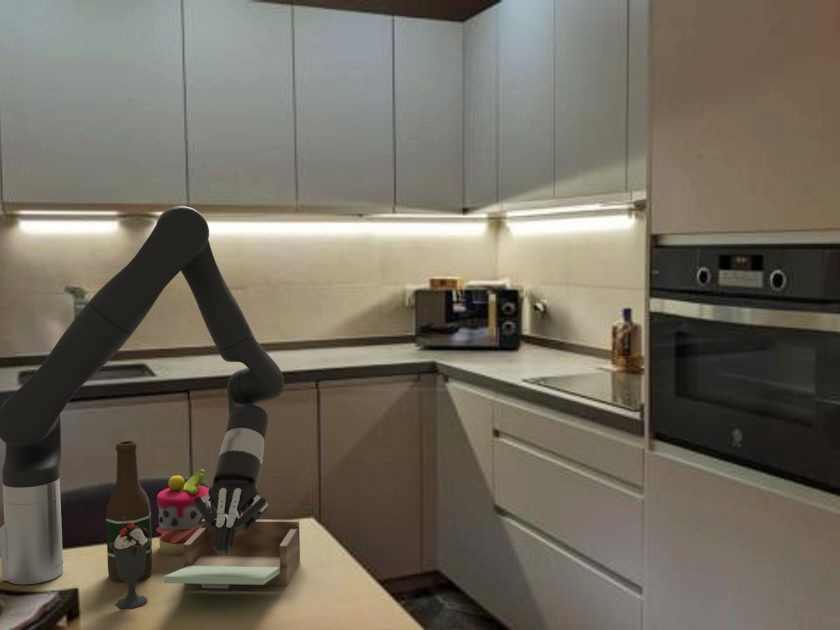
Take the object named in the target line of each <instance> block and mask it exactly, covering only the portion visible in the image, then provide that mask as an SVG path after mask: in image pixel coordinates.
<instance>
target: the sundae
mask: <svg viewBox="0 0 840 630" xmlns="http://www.w3.org/2000/svg"><path fill="white" fill-rule="evenodd" d="M122 520H123V527H122V530H120V535H119V536H118V537H117V538H116V540H115V541H114V542H112V543H110V544H109V547H110V548H111V549H112V550H113V551H114V556H115V561H116V567H117V571H118V575H119V577H120V578H121V579H122V580H123V581H125V582H124V583H126V584H127V594H126V595H125V597H122V598H120V599H119V600H117V602H116V603H115V605H116V607H118V608H120V609H124V610H125V609H129V610H130V609H136V608H139V607H142V606H144V605H146V604H147V603H148V601H149V599H148V598H147V597H145V596H143V595H138V594H137V592H136V591H137V590H136V583H137V582H138V581H137V580H138V579H140V577H141V576H142V575H143V573H144V568H145V560H146V551H147V547H148V546H149V545H150V543H151V539H150V538H146V537H147V535H148V531H147V530H146V529H145V528H144V527H143V526H142V525H139V527H138V526H135V525H134V524H133V523H129V522H127V521H126V522H127V523H128V524H129V525H128V526H127V527H125V528H124V520H126V517H124V518H122Z"/></svg>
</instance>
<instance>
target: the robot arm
mask: <svg viewBox="0 0 840 630" xmlns="http://www.w3.org/2000/svg"><path fill="white" fill-rule="evenodd" d="M209 237H210V228H209V224H208V222H207V220H206V219H205V217H204V215H203V214H201V213H200V212H199V211H198V210H196V209H194V208H192V207H191V206H185V205H176V206H172V207H169V208H167V209H165V210H164V211H163V212H162V213H161V214H160V216H159V217H158V218H157V221H156V223H155V226H154V228H153V230H151V233H150V234H149V235H148V237H147V239H146V240H145V242H144V243H143V244H142V245H141V247H140V248H139V250H138V251H137V253H136V254H135V256H134V257H133V258H132V259H131V260H130V261H129V262H128V264H126V266H124V267H123V268H122V269H121V270H120V271H119V272H117V273H116V275H114V276H113V277H112V278H110V280H109V281H107V283H105V284H104V285H103V286H102V287H101V288H100V289H99V290H98V291H97V292H96V293H95V294H94V295H93V296H92V298H90V300H88V302H87V304H85V306H84V307H83V308H82V310H80V311H79V313H78V314H77V315H76V317H75V318H74V319H73V320H72V321H71V323H70V324H69V326H68V327H67V328H66V329H65V331H64V333H62V335H61V337H60V338H59V340H57V342H56V344H55V346H54V347H53V348H52V350H51V351H50V353H49V355H48V356H47V358H46V359H45V360H44V361H43V362H42V364H41V365H40V366H39V368H38V369H36V371H35V372H34V373H33V374H32V375H31V376H30V377H29V378H28V379H27V380H26V381H25V382H24V383H23V384H22V386H20V387H19V388H18V389H17V390H16V391H15V392H14V393H13V394H12V395H11V396H9V397H8V398H7V399H6V400H5V401H3V402H2V403H1V404H0V440H2V442H4V444H5V456H4V457H5V458H4V463H3V466H2V471H1V476H2V494H3V495H2V498H3V517H4V524H3V525H2V526H1V527H0V570H1V571H0V573H1V581H2V582H5V581H6V582H9V583H11V584H14V585H34V584H40V583H45V582H49V581H51V580H54V579H57V578H58V577H60V576H61V575H62V574H63V573H64V557H63V556H64V555H63V552H64V551H63V534H62V533H63V532H62V531H63V529H62V508H61V507H62V505H61V486H60V485H61V483H60V481H61V480H60V466H61V459H62V436H61V435H62V432H61V431H62V429H61V428H62V426H61V414H62V412H63V411H64V409H65V408H66V406H67V404H68V403H69V402H70V401H71V399H72V398H73V396H74V395H75V394H76V393H77V392H78V391H79V390H80V388H81V387H83V385H84V384H85V383H87V382H88V381H89V380H90V379H91V378H92V377H93V376H95V374H97V372H99V371H100V370H101V369H102V368H103V367H104V366H105V365H106V364H107V363H108V362H110V360H111V359H112V358H113V357H114V356H115V355H116V353H118V351H120V349H121V348H122V347H123V346H124V344H125V343H126V342H127V341H128V340H129V339H130V337H131V336H132V335H133V334H134V332H136V330H137V328H138V327H139V326H140V324H141V323H142V322H143V320H144V319H145V318H146V316H147V314H148V313H149V312H150V311H151V309H152V308H153V306H154V305H155V303H156V301H157V300H158V298H159V297H160V295H161V294H162V293H163V291H164V290H165V288H166V287H167V286H168V285H169V284H170V282H171V281H172V280H174V278H175V277H177V275H178V274H179V273H181V274H182V275H183V277H184V279H185V281H186V283H187V284H188V286H189V288H190V291H191V292H192V295H193V297H194V299H195V302H196V304H197V306H198V309H199V312H200V314H201V317H202V320H203V321H204V324H205V327H206V329H207V331H208V332H209V335H210V336H211V339H212V341H213V343H214V345H215V347H216V349H217V351H218V353H219V355H220V356H221V358H222V359H223V360H224V361H225V362H228V363H241V364H243V365H244V366H245V367H246V368H242V369H239V370H237V371H235V372H234V373H232V374H231V376H230V378H229V379H228V381H227V385H226V386H227V387H226V391H227V392H226V393H227V402H228V403H227V404H228V405H227V406H228V415H229V417H228V421H227V425H226V429H225V430H226V431H225V434H224V438H223V441H222V443H221V445H220V450H219V455H218V459H217V463H216V468H215V472H214V473H215V474H214V478H213V481H212V485H211V486H210V488H208V489H209V491H208V494H207V495H205V496H203V497H202V498H200V497H196V498H195V499H194V502H195V504H196V506H197V508H198V510H199V511H200V513H201V515H202V516H203V518H204V520H205V521H206V523H207V525H208V526H209V528H210V529H211V530H216V532H215V537H214V541H213V546H214V548H215V550H216V551H217V553H218V554H227V552H228V551H230V550H231V548H232V544H233V539H234V534H235V533H236V532H237V531H240V530H242V531H245V530H247V529H248V528H249V527H250V526H251V525H252V524H253V523H254V522H255V521H256V520H257V519H259V518H261V516H262V515H263V514H264V513H266V512H267V510H268V509H269V505H268V502H267V500H266V498H265V497H261V496H260V495H259V492H258V484H259V480H260V474H261V469H262V465H263V464H262V463H263V462H264V450H265V441H266V439H265V438H266V434H267V429H268V423H269V418H268V416H269V415H268V414H267V411H266V410H265V409H264V408H262V407H261V406H258V405H257V404H261V403H264V402H268V401H271V400H275V399H277V398H279V397H280V396H281V395H282V393H283V392H284V389H285V379H284V375H283V373H282V371H281V369H280V367H279V365H278V364H277V363H276V362H275V361H274V359H273V358H272V357H271V356H270V355H269V353H267V351H266V350H265V349H264V348H263V347H262V345H261V344H260V343H259V342H258V341H257V339H256V338H255V336H254V333H253V331H252V329H251V328H250V325H249V323H248V321H247V319H246V317H245V315H244V312H243V311H242V309H241V306H239V303H238V302H237V300H236V298H235V297H234V295H233V293H232V291H231V290H230V287H228V284H227V283H226V281H225V279H224V277H223V275H222V273H221V271H220V269H219V266H218V263H217V261H216V260H215V256H214V254H213V250H212V247H211V244H210V241H209ZM210 501H212V502H211V503H212V504H213V506H214V508H215V509H216V514H217V516H216V518H214V517H213V516H212V515H211V514H210V512H209V511H208V509H209V508H210ZM249 507H250V508H249ZM215 519H217V520H215Z"/></svg>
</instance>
